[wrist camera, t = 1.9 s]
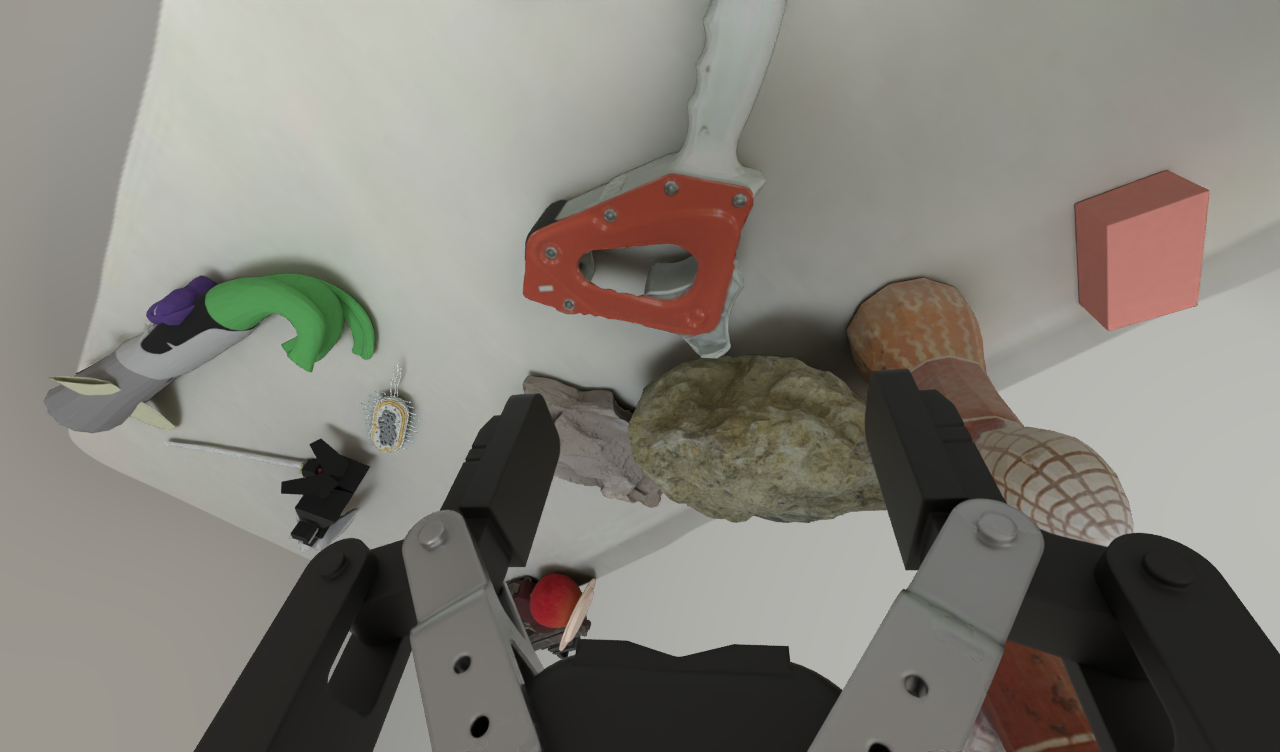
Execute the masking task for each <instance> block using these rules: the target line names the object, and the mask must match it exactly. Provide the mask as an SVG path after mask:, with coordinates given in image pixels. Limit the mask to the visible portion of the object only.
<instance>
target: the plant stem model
mask: <svg viewBox="0 0 1280 752" xmlns="http://www.w3.org/2000/svg"><path fill="white" fill-rule="evenodd" d="M846 333H847V337H848V341H849V345H850V348H851V352H852V355H853V358H854V361H855V364H856V366H857V368H858V370H859V371H860V373H861V375H862V376H863V378H864V379H865V380H866V381H867V382H868V383H869V377H870V373H871V371H875V370H889V369H904V368H907V369H909V371H910V372H911V374H912V376H913V378H914V381H915V383H916V385H917V387H918V389H919V390H933V389H936V390H937V391H938V392H940V393H941V394H942V395H943V396H944V397H946V398H947V399H948V400H949V401H951V402H952V403H953V404H954V405H955V407H956V409H957V410H958V412H959V414H960V416H961V418H962V420H963V422H964V427H966V428H967V429H968V431H969V433H970V435H971V437H972V442H974V443H975V445H976V447H977V448H978V450H979V452H980V454H981V456H982V458H983V460H984V462H985V464H986V466H987V467H988V469H989V471H990V473H991V475H992V477H993V479H994V481H995V483H996V484H997V486H998V488H999V490H1000V492H1001V494H1002V496H1003V498H1004V499H1005V501H1006V503H1007V504H1008V505H1011V506H1013V507H1015V508H1017V509H1018V510H1020V511H1021V512H1023V513H1024V514H1026V515H1027V516H1028V517H1029V518H1030V519H1031V520H1032V521H1033V522H1034V523H1035V524H1036V525H1037V527H1038V528H1040V529H1042V530H1044V531H1047V532H1049V533H1052V534H1055V535H1059V536H1063V537H1067V538H1071V539H1076V540H1080V541H1084V542H1089V543H1093V544H1097V545H1101V546H1106V547H1108V546H1109V544H1110V543H1111V542H1112V541H1113V540H1114V539H1115V538H1117V537H1119V536H1121V535H1124V534H1130V533H1133V519H1132V515H1131V510H1130V505H1129V501H1128V499H1127V497H1126V495H1125V492H1124V490H1123V488H1122V485H1121V483H1120V481H1119V479H1118V476H1117V474H1116V473H1115V472H1114V471H1113V470H1112V469H1111V467H1110V466H1109V465H1108V464H1107V463H1106V462H1105V461H1104V459H1103V458H1102V457H1101V456H1099V454H1097V453H1096V452H1095V451H1094V450H1093V449H1092V448H1091V447H1089V446H1088V445H1086V444H1085V443H1083V442H1082V441H1080V440H1079V439H1077V438H1075V437H1071V436H1068V435H1065V434H1061V433H1058V432H1055V431H1050V430H1044V429H1038V428H1032V427H1024V426H1023V425H1022V423H1021V422H1020V420H1019V419H1018V418H1017V417H1016V415H1015V414H1014V413H1013V412H1012V410H1011V409H1010V408H1009V407H1008V405H1007V404H1006V403H1005V402H1004V400H1003V399H1002V398H1001V397H1000V396H999V394H998V393H997V391H996V390H995V388H994V386H993V385H992V383H991V381H990V379H989V377H988V376H987V373H986V367H985V360H984V352H983V340H982V336H981V332H980V328H979V324H978V322H977V319H976V317H975V315H974V313H973V311H972V310H971V308H970V307H969V305H968V304H967V302H966V301H965V300H964V299H963V297H962V296H961V295H960V293H959V292H958V291H957V289H956V288H955V287H952V286H948V285H945V284H942V283H939V282H935V281H932V280H929V279H925V278H920V279H915V280H909V281H904V282H899V283H893V284H889V285H887V286H886V287H885V288H883V289H882V290H880V291H879V292H878V293H876V294H875V295H873V296H872V297H871V298H869V299H868V300H867V301H865V302H864V303H862V304H861V306H860V307H859V309H858V311H857V312H856V314H855V316H854V318H853V319H852V321H851V323H850V324H849V326H848V328H847V330H846ZM963 752H1101V751H1100V748H1099V746H1098V744H1097V741H1096V739H1095V737H1094V734H1093V732H1092V730H1091V727H1090V725H1089V723H1088V720H1087V718H1086V715H1085V713H1084V711H1083V708H1082V706H1081V704H1080V701H1079V699H1078V697H1077V694H1076V692H1075V689H1074V687H1073V685H1072V682H1071V680H1070V678H1069V675H1068V673H1067V671H1066V668H1065V666H1064V664H1063V661H1062V659H1061V657H1058V656H1055V655H1052V654H1049V653H1046V652H1042V651H1039V650H1036V649H1033V648H1030V647H1027V646H1024V645H1020V644H1017V643H1014V642H1011V641H1008V640H1006V642H1005V649H1004V652H1003V655H1002V657H1001V660H1000V663H999V665H998V667H997V670H996V672H995V675H994V677H993V679H992V682H991V684H990V687H989V689H988V691H987V694H986V696H985V699H984V701H983V704H982V706H981V708H980V711H979V713H978V716H977V718H976V720H975V723H974V725H973V728H972V730H971V732H970V735H969V737H968V740H967V742H966V744H965V747H964V749H963Z"/></svg>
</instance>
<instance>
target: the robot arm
mask: <svg viewBox="0 0 1280 752" xmlns="http://www.w3.org/2000/svg"><path fill="white" fill-rule="evenodd" d="M865 436H866V442H867V446H868V449H869V452H870V455H871V459H872V462H873V465H874V469H875V472H876V475H877V478H878V482H879V485H880V488H881V491H882V495H883V498H884V501H885V504H886V508H887V511H888V514H889V517H890V520H891V524H892V527H893V530H894V534H895V537H896V540H897V543H898V547H899V550H900V553H901V556H902V560H903V563H904V566H905V569H906V570H918V571H917V573H916V575H915V576H914V578H913V580H912V582H911V583H910V585H909V587H908V588H907V589H906V590H905V589H903V590H902V591H901V592H900V593H899V595H898V596H897V598H896V599H895V601H894V603H893V604H892V606H891V608H890V610H889V611H888V613H887V615H886V616H885V618H884V620H883V621H882V623H881V625H880V627H879V628H878V630H877V632H876V634H875V635H874V637H873V639H872V641H871V642H870V644H869V646H868V648H867V649H866V651H865V653H864V655H863V656H862V658H861V660H860V661H859V663H858V665H857V667H856V669H855V670H854V672H853V673H852V676H851V677H850V679H849V680H848V682H847V684H846V686H845V687H844V689H843V690H842V689H840V688H839V687H838V686H836V685H835V684H834V683H832V682H831V681H830V680H828V679H827V678H825V677H823V676H822V675H820V674H818V673H817V672H815V671H813V670H810V669H808V668H806V667H804V666H801V665H798V664H795V663H792V662H790V656H789V647H788V646H767V645H738V644H733V645H729V646H725V647H721V648H717V649H712V650H708V651H704V652H700V653H696V654H691V655H688V656H683V657H676V656H672V655H669V654H666V653H662V652H659V651H657V650H653V649H650V648H647V647H644V646H641V645H638V644H635V643H632V642H629V641H621V640H620V641H619V640H592V639H589V640H588V639H578V644H577V649H576V654H575V655H573V656H570V657H567V658H565V659H562V660H560V661H558V662H556V663H554V664H552V665H550V666H549V667H547V668H545V669H544V668H543V666H542V664H541V662H540V660H539V659H538V657H537V655H536V653H535V651H534V649H533V647H532V645H531V642H530V640H529V637H528V635H527V633H526V630H525V628H524V625H523V623H522V620H521V618H520V615H519V613H518V610H517V608H516V606H515V603H514V601H513V598H512V596H511V593H510V591H509V588H508V586H507V584H506V582H505V580H504V578H505V575H506V572H507V569H508V567H525V566H526V563H527V560H528V556H529V553H530V550H531V547H532V543H533V540H534V537H535V534H536V531H537V527H538V524H539V521H540V518H541V515H542V511H543V508H544V505H545V502H546V498H547V495H548V492H549V489H550V486H551V482H552V479H553V476H554V473H555V469H556V466H557V463H558V460H559V456H560V438H559V434H558V431H557V429H556V426H555V424H554V421H553V419H552V416H551V414H550V411H549V409H548V406H547V404H546V402H545V399H544V397H543V396H542V395H541V394H540V393H535V394H521V395H512V396H510V398H509V399H508V401H507V403H506V405H505V407H504V410H503V412H502V414H501V415H497V416H493V417H492V418H491V419H490V420H489V421H488V422H487V423H486V424H485V425H484V426H483V427H482V428H481V429H480V431H479V433H478V435H477V437H476V439H475V441H474V443H473V445H472V449H470V451H469V453H468V455H467V457H466V462H464V463H463V465H462V467H461V469H460V471H459V473H458V475H457V477H456V479H455V481H454V483H453V485H452V487H451V489H450V491H449V493H448V495H447V497H446V499H445V501H444V503H443V505H442V507H441V509H440V511H437V512H434V513H432V514H430V515H428V516H426V517H424V518H423V519H421V520H420V521H419V522H417V523H416V524H415V525H414V526H413V527H412V529H411V530H410V531H409V532H408V534H407V535H406V537H405V539H403V540H400V541H397V542H394V543H391V544H388V545H384V546H381V547H378V548H375V549H371V550H370V549H369V548H368V547H367V546H366V545H365V544H364V543H363V542H362V541H361V540H359V539H355V538H348V539H343V540H340V541H337V542H335V543H333V544H331V545H329V546H327V547H326V548H324V549H323V550H322V551H321V552H319V553H318V554H317V555H316V556H315V557H314V558H313V559H312V560H311V561H310V563H309V564H308V566H307V567H306V568H305V570H304V572H303V573H302V575H301V577H300V578H299V580H298V582H297V583H296V585H295V586H294V588H293V590H292V591H291V593H290V595H289V596H288V598H287V600H286V601H285V603H284V605H283V606H282V608H281V609H280V611H279V613H278V614H277V616H276V618H275V619H274V621H273V623H272V624H271V626H270V627H269V629H268V631H267V632H266V634H265V636H264V637H263V639H262V640H261V642H260V644H259V645H258V647H257V649H256V650H255V652H254V654H253V655H252V657H251V658H250V660H249V662H248V663H247V665H246V667H245V668H244V670H243V672H242V673H241V675H240V677H239V678H238V680H237V681H236V683H235V685H234V686H233V688H232V690H231V691H230V693H229V695H228V696H227V698H226V700H225V701H224V703H223V705H222V706H221V708H220V709H219V711H218V713H217V714H216V716H215V718H214V719H213V721H212V723H211V724H210V726H209V727H208V729H207V731H206V732H205V734H204V736H203V737H202V739H201V740H200V742H199V744H198V745H197V747H196V749H195V750H194V752H373V749H374V747H375V744H376V742H377V739H378V737H379V734H380V731H381V729H382V726H383V723H384V721H385V718H386V716H387V713H388V711H389V708H390V705H391V703H392V700H393V697H394V695H395V692H396V690H397V687H398V684H399V682H400V679H401V677H402V674H403V671H404V669H405V666H406V664H407V661H408V658H409V656H410V653H411V651H412V652H413V657H414V662H415V667H416V672H417V677H418V682H419V686H420V692H421V697H422V702H423V706H424V711H425V717H426V721H427V726H428V731H429V736H430V741H431V746H432V751H433V752H963V749H964V747H965V744H966V742H967V740H968V737H969V735H970V732H971V730H972V728H973V725H974V723H975V720H976V718H977V716H978V713H979V711H980V708H981V706H982V704H983V701H984V699H985V696H986V694H987V691H988V689H989V687H990V684H991V682H992V679H993V677H994V675H995V672H996V670H997V667H998V665H999V663H1000V660H1001V657H1002V655H1003V652H1004V649H1005V642H1006V640H1008V641H1011V642H1014V643H1017V644H1020V645H1024V646H1027V647H1030V648H1033V649H1036V650H1039V651H1042V652H1046V653H1049V654H1052V655H1055V656H1058V657H1061V659H1062V661H1063V664H1064V666H1065V668H1066V671H1067V673H1068V675H1069V678H1070V680H1071V682H1072V685H1073V687H1074V689H1075V692H1076V694H1077V697H1078V699H1079V701H1080V704H1081V706H1082V708H1083V711H1084V713H1085V715H1086V718H1087V720H1088V723H1089V725H1090V727H1091V730H1092V732H1093V734H1094V737H1095V739H1096V741H1097V744H1098V746H1099V748H1100V751H1101V752H1280V654H1279V652H1278V651H1277V650H1276V648H1275V647H1274V646H1273V644H1272V643H1271V642H1270V640H1269V639H1268V637H1267V636H1266V635H1265V633H1264V632H1263V631H1262V629H1261V628H1260V626H1259V625H1258V624H1257V622H1256V621H1255V620H1254V618H1253V617H1252V616H1251V614H1250V613H1249V611H1248V610H1247V609H1246V607H1245V606H1244V605H1243V603H1242V602H1241V601H1240V599H1239V598H1238V596H1237V595H1236V594H1235V592H1234V591H1233V590H1232V588H1231V587H1230V586H1229V584H1228V583H1227V581H1226V580H1225V579H1224V577H1223V576H1222V575H1221V573H1220V572H1219V571H1218V570H1217V569H1216V568H1215V567H1214V566H1213V565H1212V564H1211V563H1210V562H1209V561H1208V560H1207V559H1205V558H1204V557H1203V556H1201V555H1200V554H1198V553H1197V552H1195V551H1194V550H1192V549H1190V548H1189V547H1187V546H1185V545H1183V544H1181V543H1179V542H1176V541H1174V540H1171V539H1168V538H1165V537H1162V536H1158V535H1153V534H1145V533H1130V534H1124V535H1121V536H1119V537H1117V538H1115V539H1114V540H1113V541H1112V542H1111V543H1110V544H1109V546H1108V547H1106V546H1101V545H1097V544H1093V543H1089V542H1084V541H1080V540H1076V539H1071V538H1067V537H1063V536H1059V535H1055V534H1052V533H1049V532H1047V531H1044V530H1042V529H1040V528H1038V527H1037V525H1036V524H1035V523H1034V522H1033V521H1032V520H1031V519H1030V518H1029V517H1028V516H1027V515H1026V514H1024V513H1023V512H1021V511H1020V510H1018V509H1017V508H1015V507H1013V506H1011V505H1008V504H1007V503H1006V501H1005V499H1004V498H1003V496H1002V494H1001V492H1000V490H999V488H998V486H997V484H996V483H995V481H994V479H993V477H992V475H991V473H990V471H989V469H988V467H987V466H986V464H985V462H984V460H983V458H982V456H981V454H980V452H979V450H978V448H977V447H976V445H975V443H974V442H972V437H971V435H970V433H969V431H968V429H967V428H966V427H964V422H963V420H962V418H961V416H960V414H959V412H958V410H957V409H956V407H955V405H954V404H953V403H952V402H951V401H949V400H948V399H947V398H946V397H944V396H943V395H942V394H941V393H940V392H938V391H937V390H936V389H933V390H919V389H918V387H917V385H916V383H915V381H914V378H913V376H912V374H911V372H910V371H909V369H907V368H904V369H889V370H875V371H871V373H870V377H869V385H868V394H867V403H866V411H865ZM349 631H350V632H351V633H352V635H351V637H350V639H349V641H348V643H347V645H346V647H345V649H344V651H343V654H342V656H341V658H340V660H339V662H338V664H337V666H336V668H335V670H334V672H333V674H332V676H331V679H330V681H329V683H328V675H329V672H330V669H331V666H332V665H333V663H334V660H335V658H336V656H337V654H338V652H339V650H340V648H341V646H342V644H343V642H344V640H345V638H346V636H347V634H348V632H349Z"/></svg>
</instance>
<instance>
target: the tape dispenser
mask: <svg viewBox="0 0 1280 752" xmlns="http://www.w3.org/2000/svg"><path fill="white" fill-rule="evenodd" d="M786 2H787V0H712V1H711V4H710V6H709V8H708V10H707V12H706V14H705V16H704V18H703V24H704V28H705V33H706V40H705V46H704V49H703V52H702V54H701V56H700V58H699V59H698V61H697V63H696V69H697V76H698V79H697V87H696V89H695V91H694V94H693V95H692V97H691V98H690V100H689V101H688V105H687V109H688V115H689V126H688V133H687V137H686V140H685V143H684V145H683V147H682V149H681V150H680V151H679V152H678V153H670V154H668V155H666V156H663V157H661V158H659V159H656V160H654V161H652V162H650V163H647V164H645V165H643V166H640V167H638V168H636V169H634V170H631V171H629V172H627V173H624V174H622V175H620V176H618V177H616V178H614V179H612V180H611V181H610V182H609V184H608V185H604V186H601V187H599V188H596V189H594V190H591V191H589V192H587V193H585V194H583V195H581V196H579V197H576V198H574V199H572V200H570V201H568V200H561V201H557V202H555V203H553V204H551V205H550V206H549V207H548V208H547V209H546V210H545V212H544V213H543V214H542V216H541V217H540V218H539V220H538V221H537V222H536V224H535V225H534V226H533V228H532V229H531V231H530V232H529V234H528V236H527V239H526V242H525V261H526V263H525V276H524V284H523V295H524V297H526V298H528V299H530V300H532V301H535V302H538V303H541V304H544V305H548V306H551V307H554V308H556V310H557V311H560V312H562V313H564V314H577V313H581V314H583V315H587V314H591V315H593V316H601V317H605V318H608V319H617V320H623V321H628V322H632V323H639V324H642V325H644V326H647V327H651V328H655V329H660V330H664V331H668V332H672V333H674V334H677V335H679V336H681V337H682V338H683V339H684V340H685V341H686V342H687V343H688V344H689V345H690V346H691V347H692V349H693V350H694V351H695V352H696V353H697V354H699V355H700V356H701V358H719V357H720V356H722V355H724V354H725V353H726V352H727V351H728V350H729V349H730V347H731V343H730V338H729V332H728V322H729V315H730V311H731V308H732V305H733V303H734V301H735V299H736V297H737V296H738V294H739V293H740V291H741V290H742V288H743V287H744V283H743V278H742V275H741V271H740V267H739V263H738V262H737V260H736V259H735V256H736V249H737V247H738V243H739V239H740V232H741V229H742V227H743V225H744V223H745V221H746V219H747V217H748V215H749V213H750V211H751V209H752V206H753V201H754V196H755V195H756V194H757V193H758V192H759V191H760V189H761V188H762V187H763V186H764V184H765V182H766V180H765V178H764V176H763V174H762V173H761V171H759V170H755V169H752V168H748V167H744V166H741V165H740V163H739V162H738V159H737V154H736V149H737V141H738V139H739V136H740V134H741V132H742V130H743V128H744V125H745V123H746V121H747V119H748V117H749V114H750V112H751V109H752V107H753V104H754V102H755V100H756V97H757V95H758V92H759V90H760V87H761V84H762V82H763V79H764V76H765V73H766V70H767V67H768V64H769V62H770V59H771V56H772V53H773V50H774V47H775V43H776V39H777V36H778V32H779V29H780V25H781V21H782V18H783V14H784V11H785V6H786ZM655 244H675V245H679V246H681V247H682V248H684V249H685V250H687V251H688V252H689V253H691V254H692V256H691V257H689V258H687V259H686V260H683V261H679V262H675V263H655V265H654V266H653V267H652V269H651V270H650V272H649V274H648V277H647V280H646V284H645V292H644V294H643V295H641V296H635V295H632V294H628V293H617V292H616V291H614V290H612V289H602V288H600V287H598V286H596V285H595V284H593V283H592V282H591V279H592V277H593V275H594V259H593V256H592V250H601V249H613V248H622V247H625V248H628V247H632V246H647V245H655Z"/></svg>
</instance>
